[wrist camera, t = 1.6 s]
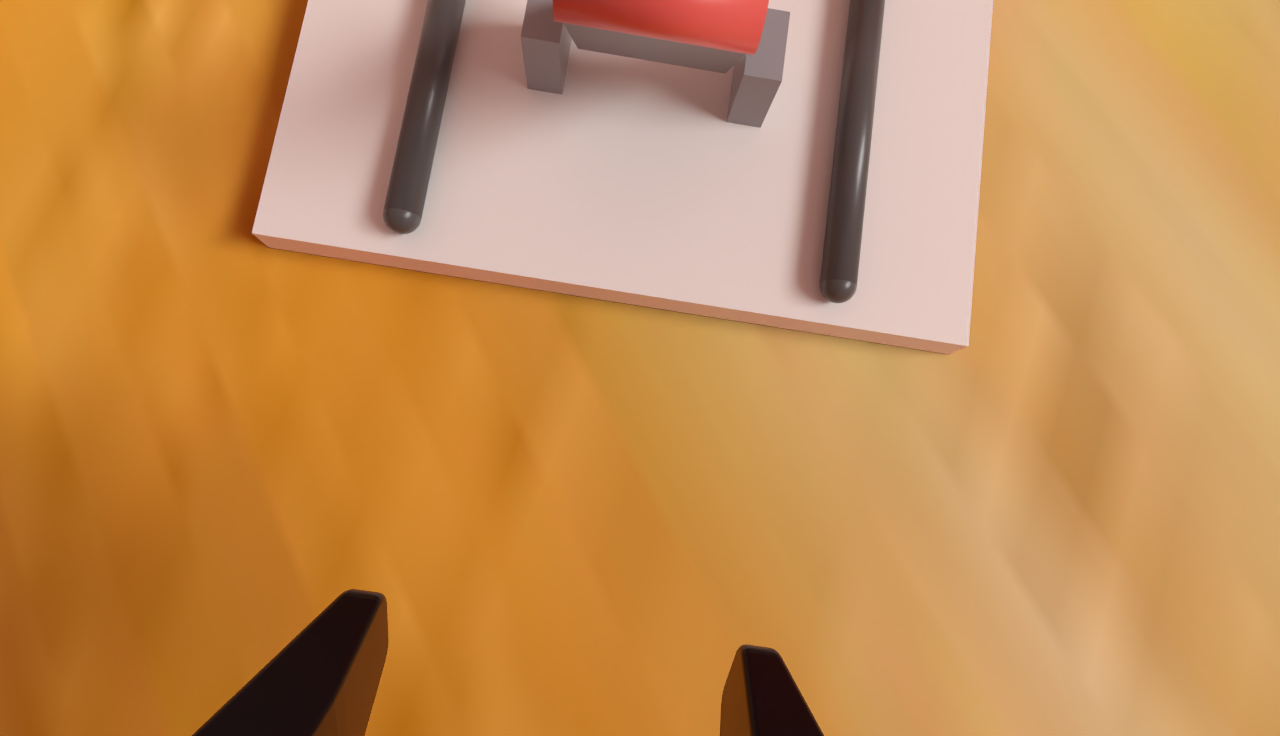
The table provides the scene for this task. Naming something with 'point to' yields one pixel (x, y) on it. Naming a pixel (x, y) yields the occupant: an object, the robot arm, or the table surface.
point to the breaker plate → (649, 161)
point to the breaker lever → (667, 29)
